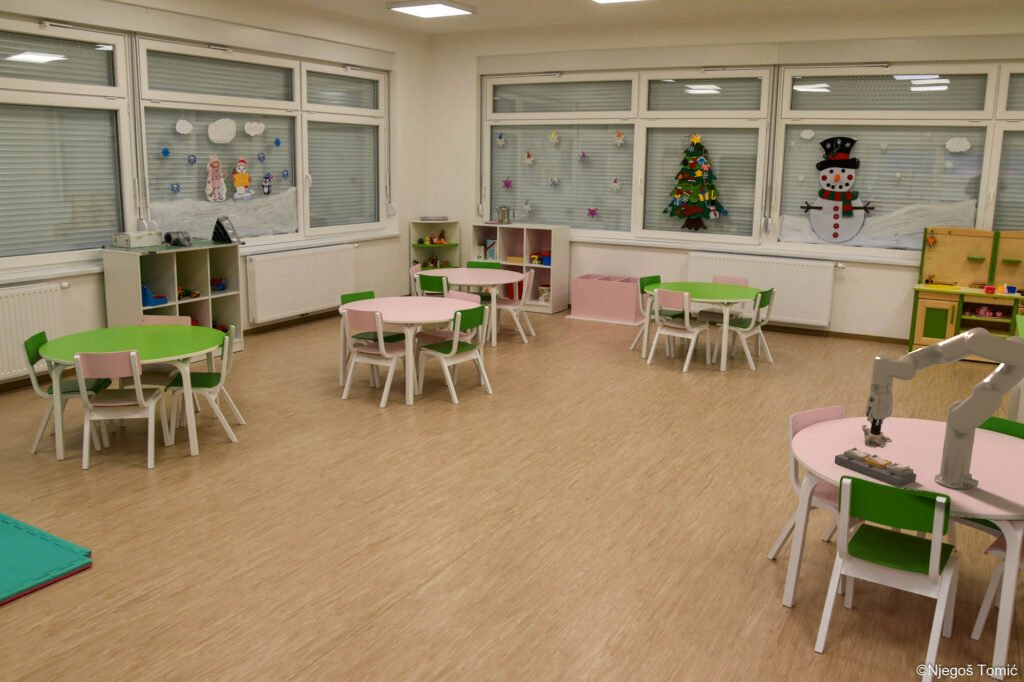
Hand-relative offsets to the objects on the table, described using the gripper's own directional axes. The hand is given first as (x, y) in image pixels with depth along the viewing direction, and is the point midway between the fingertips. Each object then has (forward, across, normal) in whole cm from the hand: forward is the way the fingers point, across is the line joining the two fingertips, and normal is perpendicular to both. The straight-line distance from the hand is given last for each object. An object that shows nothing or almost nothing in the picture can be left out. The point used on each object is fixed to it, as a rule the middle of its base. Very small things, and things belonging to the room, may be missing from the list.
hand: (875, 434), depth 321 cm
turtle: (+15, +30, +19) cm, 39 cm away
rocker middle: (+10, 0, -2) cm, 10 cm away
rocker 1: (+10, 0, +7) cm, 12 cm away
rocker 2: (+10, 0, -11) cm, 15 cm away
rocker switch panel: (+14, -2, -2) cm, 15 cm away
